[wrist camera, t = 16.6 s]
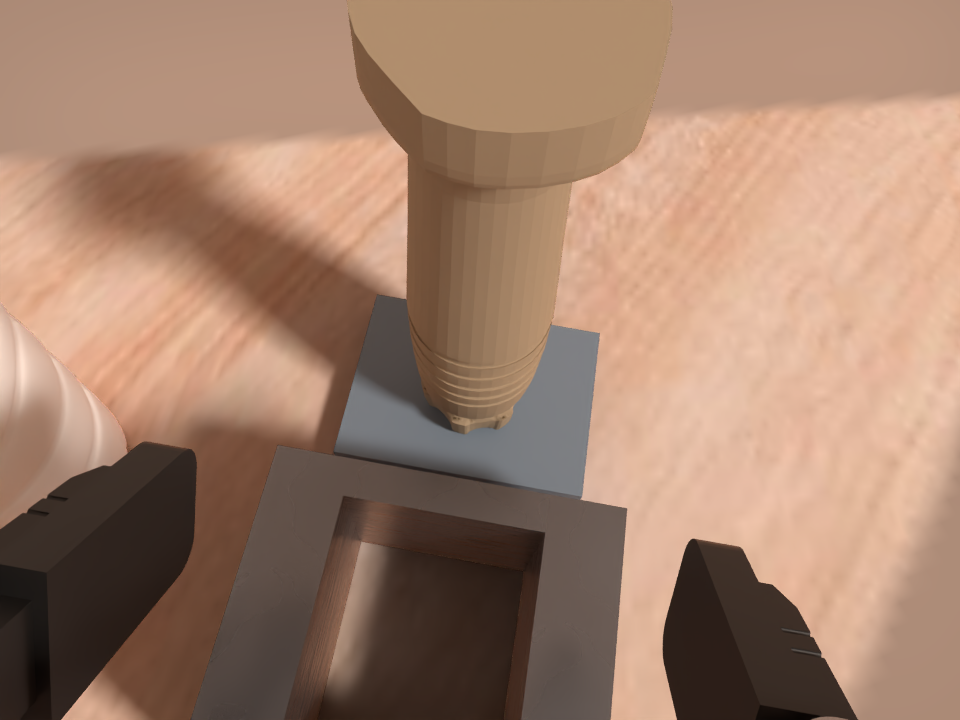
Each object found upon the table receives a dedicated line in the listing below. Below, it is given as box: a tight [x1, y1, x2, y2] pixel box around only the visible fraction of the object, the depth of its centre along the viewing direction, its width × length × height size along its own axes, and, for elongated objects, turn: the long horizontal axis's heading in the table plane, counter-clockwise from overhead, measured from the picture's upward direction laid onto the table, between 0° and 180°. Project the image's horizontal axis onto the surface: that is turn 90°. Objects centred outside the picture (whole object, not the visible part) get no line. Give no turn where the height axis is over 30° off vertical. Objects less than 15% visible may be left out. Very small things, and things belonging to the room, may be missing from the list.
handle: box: [347, 0, 673, 434], centre depth 18 cm, size 5×6×15 cm
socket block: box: [191, 445, 627, 720], centre depth 19 cm, size 9×8×5 cm
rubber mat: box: [333, 295, 600, 500], centre depth 25 cm, size 8×6×1 cm
